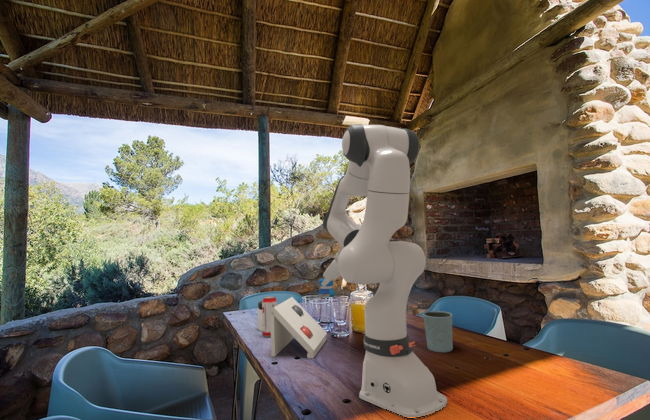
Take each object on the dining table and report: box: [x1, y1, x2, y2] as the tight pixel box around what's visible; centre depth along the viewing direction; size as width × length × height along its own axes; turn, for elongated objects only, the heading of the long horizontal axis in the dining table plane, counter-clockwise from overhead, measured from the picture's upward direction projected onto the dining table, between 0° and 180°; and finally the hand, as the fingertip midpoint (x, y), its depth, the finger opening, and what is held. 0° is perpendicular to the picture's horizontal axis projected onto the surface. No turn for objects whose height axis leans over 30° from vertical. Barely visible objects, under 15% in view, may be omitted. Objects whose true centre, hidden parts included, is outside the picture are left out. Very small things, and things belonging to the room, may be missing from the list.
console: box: [270, 296, 328, 359], centre depth 126 cm, size 16×20×17 cm
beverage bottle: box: [317, 278, 336, 299], centre depth 163 cm, size 8×8×20 cm
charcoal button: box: [293, 306, 303, 316], centre depth 131 cm, size 5×4×5 cm
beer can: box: [261, 295, 278, 338], centre depth 143 cm, size 6×6×16 cm
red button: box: [300, 326, 312, 338], centre depth 122 cm, size 5×4×5 cm
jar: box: [256, 300, 263, 333], centre depth 153 cm, size 9×8×12 cm
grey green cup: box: [422, 310, 454, 353], centre depth 121 cm, size 10×10×12 cm
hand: (323, 285), depth 131 cm, fingers closed
